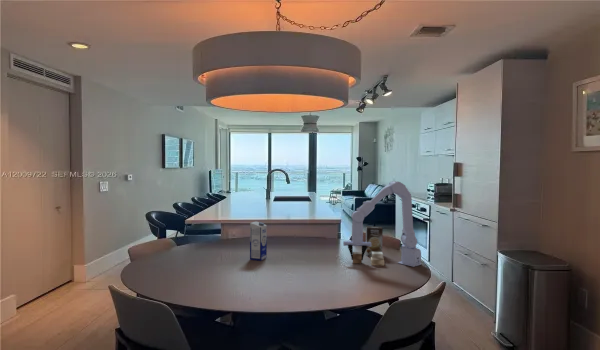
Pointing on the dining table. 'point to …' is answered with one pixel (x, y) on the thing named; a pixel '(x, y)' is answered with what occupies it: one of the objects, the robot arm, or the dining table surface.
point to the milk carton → (258, 241)
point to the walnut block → (357, 257)
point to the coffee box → (374, 239)
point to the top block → (377, 256)
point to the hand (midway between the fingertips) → (357, 259)
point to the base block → (377, 262)
